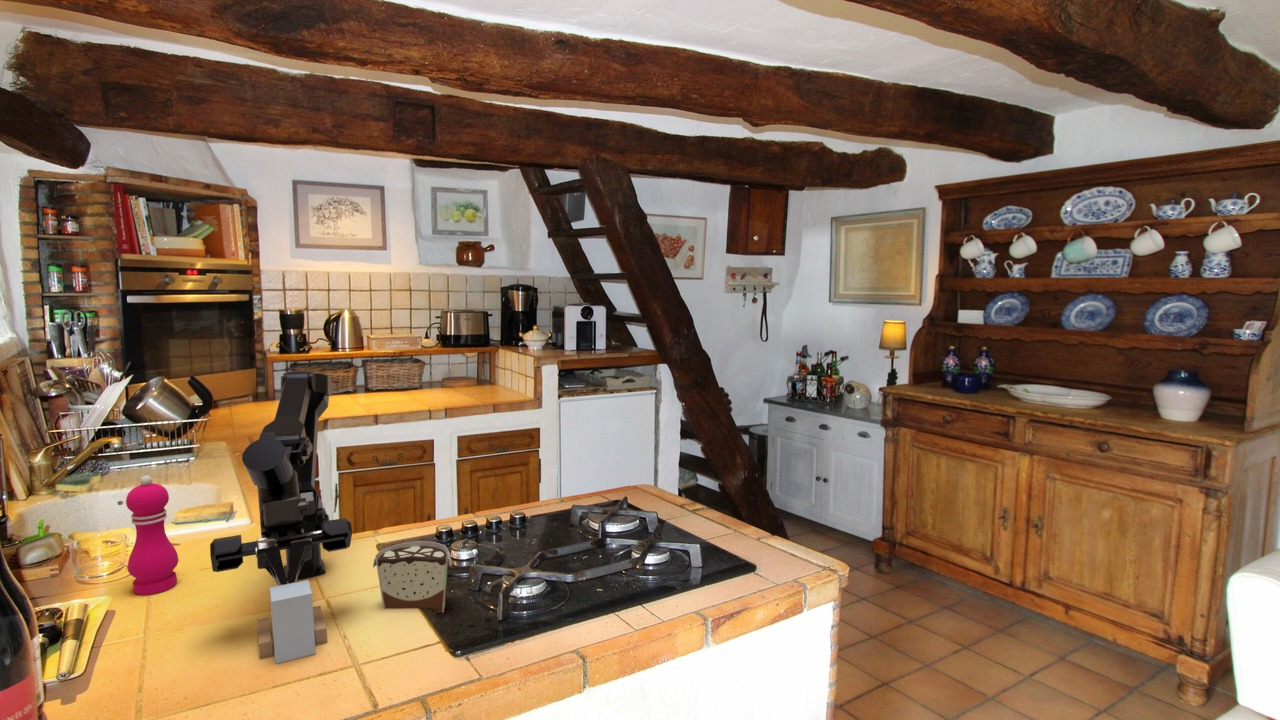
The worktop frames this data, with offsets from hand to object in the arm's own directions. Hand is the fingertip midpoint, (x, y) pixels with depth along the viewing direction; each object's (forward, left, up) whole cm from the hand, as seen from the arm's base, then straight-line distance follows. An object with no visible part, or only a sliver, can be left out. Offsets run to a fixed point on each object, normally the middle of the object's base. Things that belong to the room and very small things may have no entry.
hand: (289, 597), depth 101 cm
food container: (-4, +19, -8) cm, 21 cm away
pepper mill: (-34, -19, -8) cm, 40 cm away
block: (+3, 0, -7) cm, 7 cm away
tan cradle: (+2, 0, -8) cm, 8 cm away
